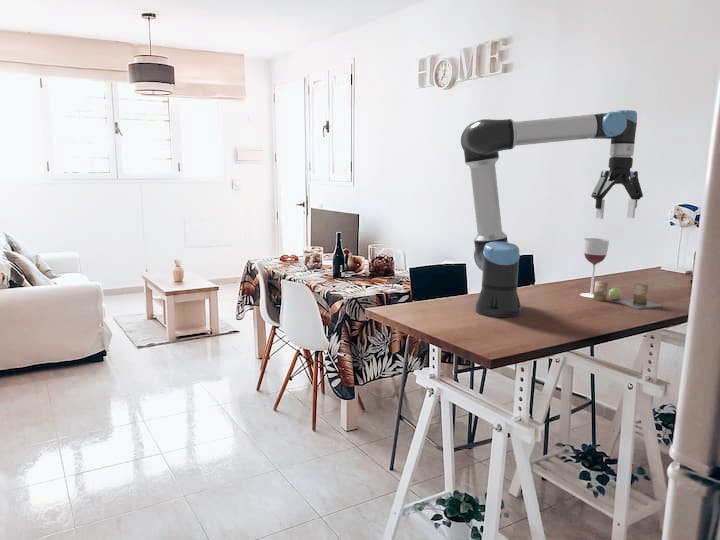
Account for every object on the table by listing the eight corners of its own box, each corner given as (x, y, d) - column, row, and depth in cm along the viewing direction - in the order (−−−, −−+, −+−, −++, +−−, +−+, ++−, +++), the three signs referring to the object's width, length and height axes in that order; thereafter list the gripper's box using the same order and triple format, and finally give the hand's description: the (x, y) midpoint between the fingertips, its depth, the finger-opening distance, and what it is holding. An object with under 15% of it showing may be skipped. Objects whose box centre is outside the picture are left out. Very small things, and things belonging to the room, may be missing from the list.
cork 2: (640, 305, 203) (642, 286, 202) (630, 302, 207) (632, 283, 206) (649, 303, 205) (651, 284, 204) (639, 300, 209) (641, 282, 208)
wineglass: (598, 293, 224) (604, 238, 220) (606, 298, 215) (612, 241, 211) (576, 292, 225) (581, 237, 221) (583, 297, 216) (588, 240, 212)
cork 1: (599, 301, 210) (600, 283, 209) (590, 298, 214) (592, 281, 213) (608, 300, 212) (610, 282, 210) (600, 298, 216) (602, 280, 214)
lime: (614, 301, 211) (615, 289, 210) (605, 298, 215) (606, 286, 214) (623, 300, 212) (625, 288, 212) (614, 297, 217) (616, 286, 216)
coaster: (637, 309, 199) (638, 307, 199) (614, 302, 210) (615, 300, 210) (662, 307, 203) (662, 305, 203) (638, 300, 213) (638, 298, 213)
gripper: (599, 155, 187) (593, 219, 191) (658, 157, 195) (651, 218, 199) (584, 156, 194) (578, 217, 198) (641, 157, 202) (635, 216, 206)
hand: (615, 218), depth 198 cm, fingers open, 13 cm apart
